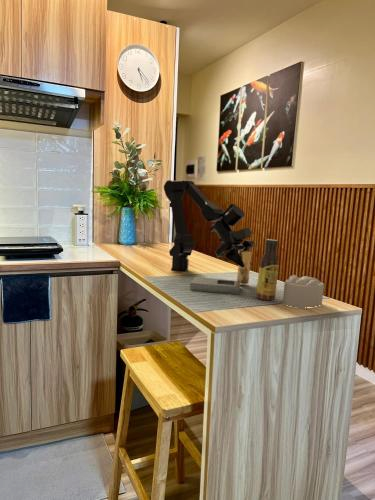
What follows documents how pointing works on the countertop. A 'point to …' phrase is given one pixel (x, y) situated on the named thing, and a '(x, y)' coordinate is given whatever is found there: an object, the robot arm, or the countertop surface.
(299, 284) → the lumpy-topped squat cylinder
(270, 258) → the sauce bottle
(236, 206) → the robot arm
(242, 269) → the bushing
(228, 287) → the plate
